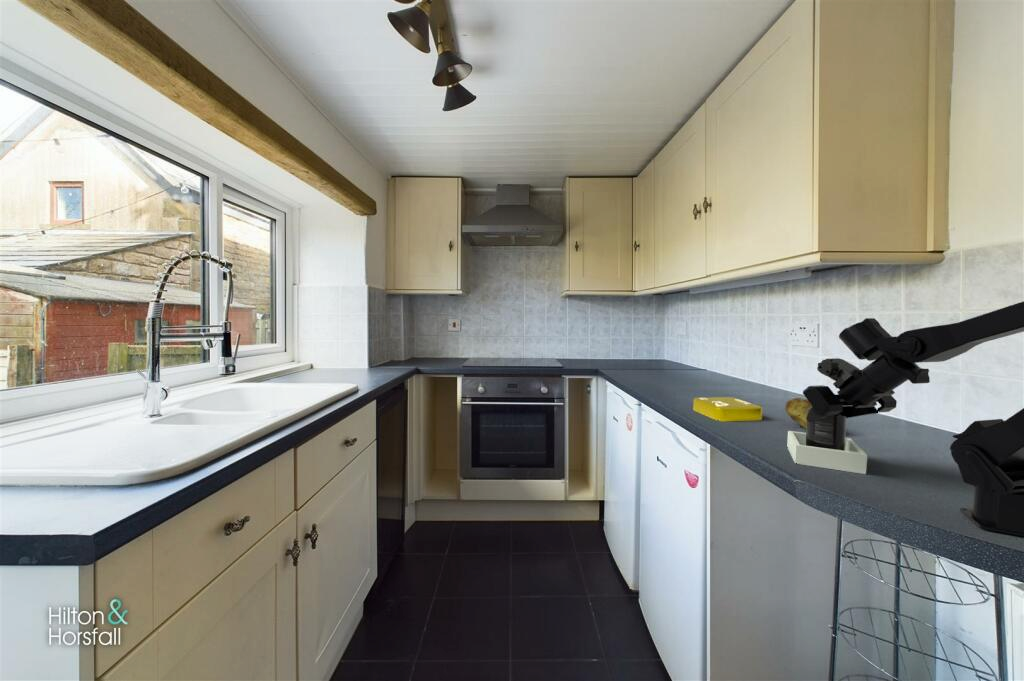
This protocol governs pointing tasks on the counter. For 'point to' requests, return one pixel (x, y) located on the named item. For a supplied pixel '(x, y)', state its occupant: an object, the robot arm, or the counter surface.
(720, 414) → the element tile
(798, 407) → the potato
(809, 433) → the supplement bottle
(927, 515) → the counter surface
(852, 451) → the sage tray
